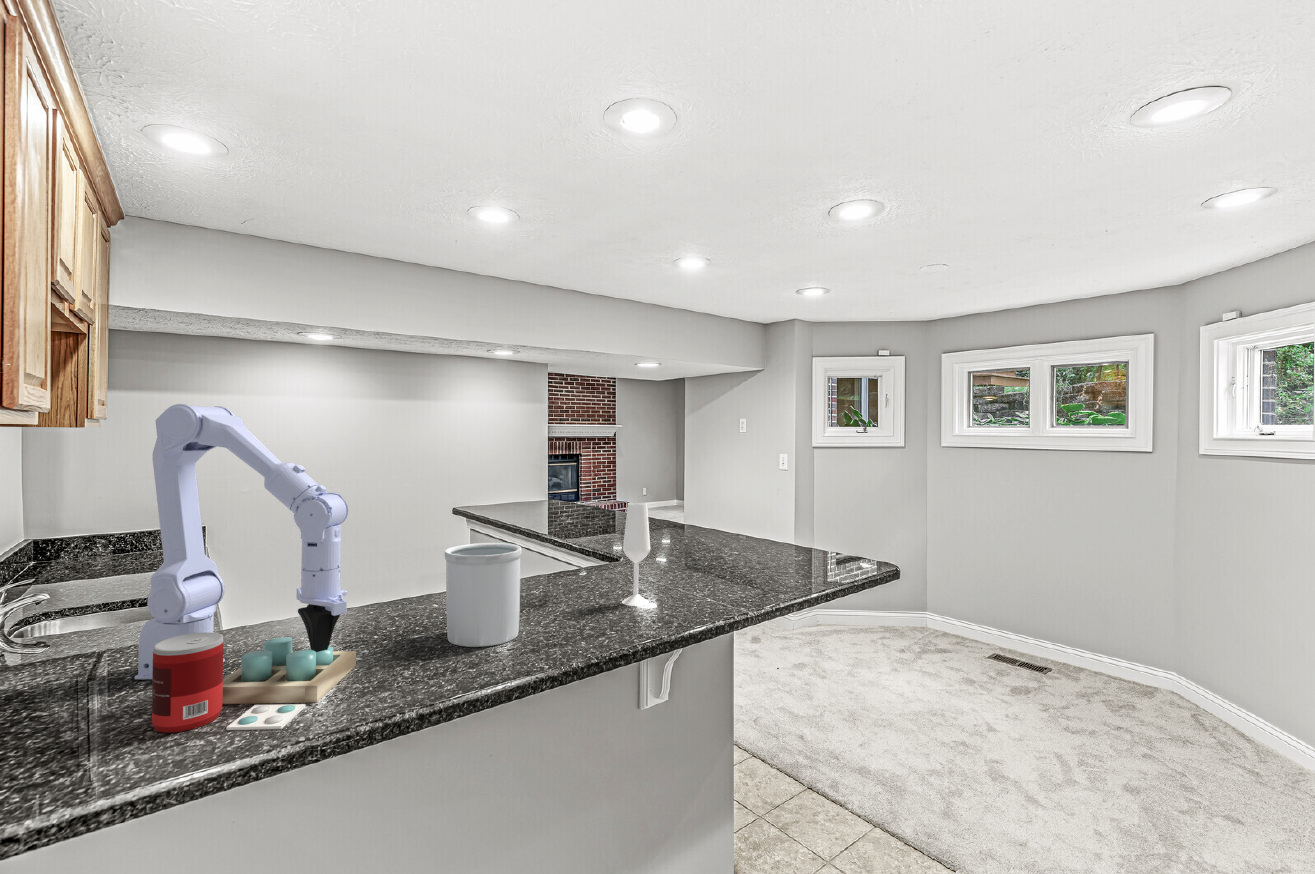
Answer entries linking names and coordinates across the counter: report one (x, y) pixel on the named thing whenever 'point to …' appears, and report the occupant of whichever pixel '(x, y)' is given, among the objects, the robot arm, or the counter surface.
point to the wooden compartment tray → (288, 684)
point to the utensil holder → (482, 593)
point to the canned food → (187, 681)
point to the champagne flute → (636, 545)
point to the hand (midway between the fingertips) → (319, 650)
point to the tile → (266, 717)
